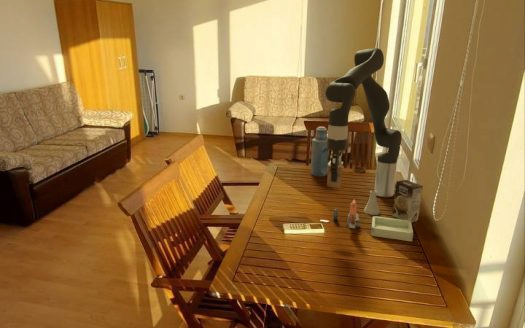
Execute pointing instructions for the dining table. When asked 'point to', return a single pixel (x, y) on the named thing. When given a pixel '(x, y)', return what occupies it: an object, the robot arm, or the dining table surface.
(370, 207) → the flask
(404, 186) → the coffee box
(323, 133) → the bottle
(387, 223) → the tray
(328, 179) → the block
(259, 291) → the dining table surface
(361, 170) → the place setting
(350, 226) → the crank
